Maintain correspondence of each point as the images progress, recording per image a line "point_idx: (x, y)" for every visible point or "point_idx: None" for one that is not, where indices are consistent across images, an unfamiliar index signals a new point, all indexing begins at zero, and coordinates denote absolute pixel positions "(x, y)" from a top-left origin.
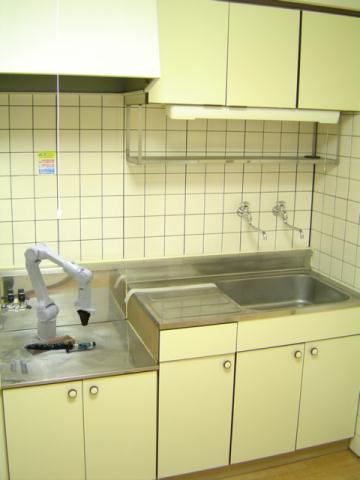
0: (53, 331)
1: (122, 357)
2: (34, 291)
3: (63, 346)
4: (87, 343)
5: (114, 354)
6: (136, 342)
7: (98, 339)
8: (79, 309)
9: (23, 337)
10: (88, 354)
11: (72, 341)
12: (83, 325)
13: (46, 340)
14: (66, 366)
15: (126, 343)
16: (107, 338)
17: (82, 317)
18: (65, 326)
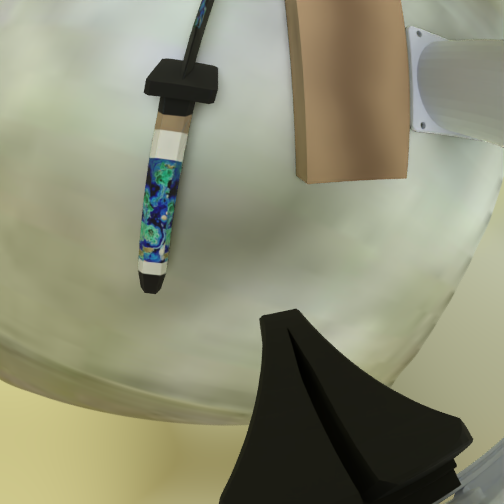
0: (456, 92)
1: (29, 332)
2: None
3: (191, 32)
4: (143, 236)
5: (59, 320)
6: (164, 414)
7: None
8: (454, 462)
9: (484, 17)
10: (87, 198)
11: (303, 159)
12: (261, 323)
13: (397, 16)
14: (7, 36)
15: (167, 392)
16: None
17: (263, 431)
18: (482, 228)
